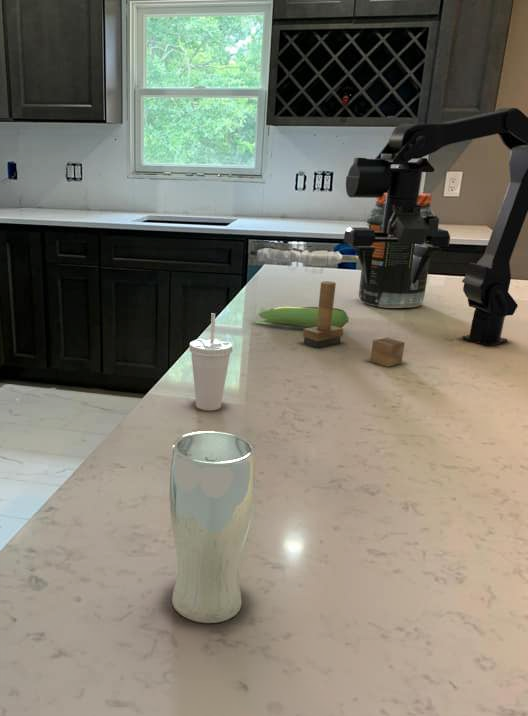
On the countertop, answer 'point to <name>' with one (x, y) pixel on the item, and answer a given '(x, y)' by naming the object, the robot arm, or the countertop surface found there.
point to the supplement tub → (393, 265)
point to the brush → (324, 320)
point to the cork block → (387, 352)
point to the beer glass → (210, 521)
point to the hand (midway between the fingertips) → (390, 283)
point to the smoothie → (210, 369)
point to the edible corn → (300, 317)
